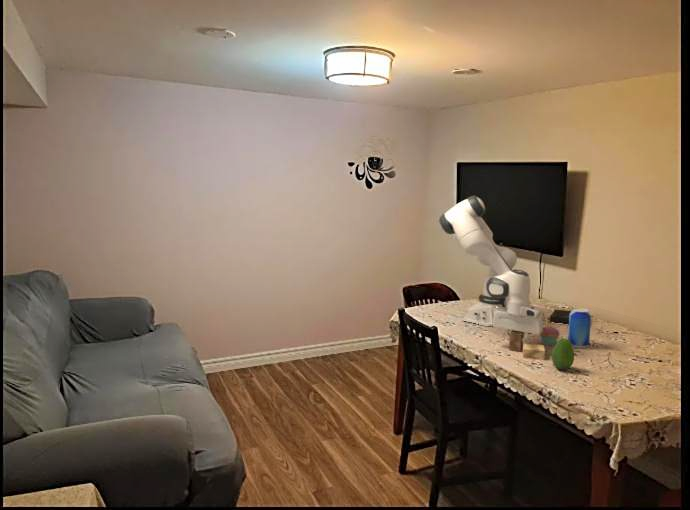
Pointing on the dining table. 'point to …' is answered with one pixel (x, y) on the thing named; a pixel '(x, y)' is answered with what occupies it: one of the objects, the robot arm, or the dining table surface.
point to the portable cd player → (560, 316)
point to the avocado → (563, 354)
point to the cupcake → (549, 334)
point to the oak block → (533, 351)
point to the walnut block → (516, 341)
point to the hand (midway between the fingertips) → (516, 340)
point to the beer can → (579, 327)
